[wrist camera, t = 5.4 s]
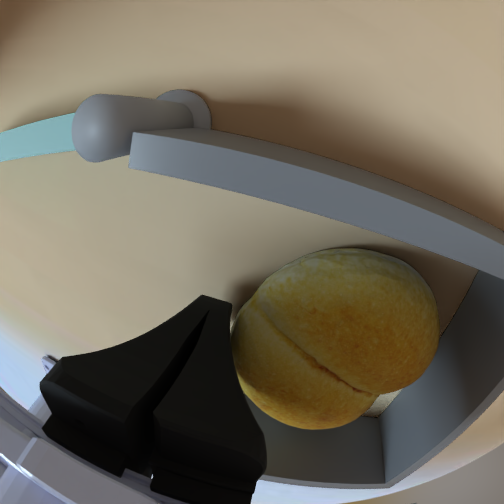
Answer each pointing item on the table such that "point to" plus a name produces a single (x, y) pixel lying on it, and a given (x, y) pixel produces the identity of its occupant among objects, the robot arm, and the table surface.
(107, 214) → the table surface
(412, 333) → the bread roll
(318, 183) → the grey open box
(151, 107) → the teal flat bar
